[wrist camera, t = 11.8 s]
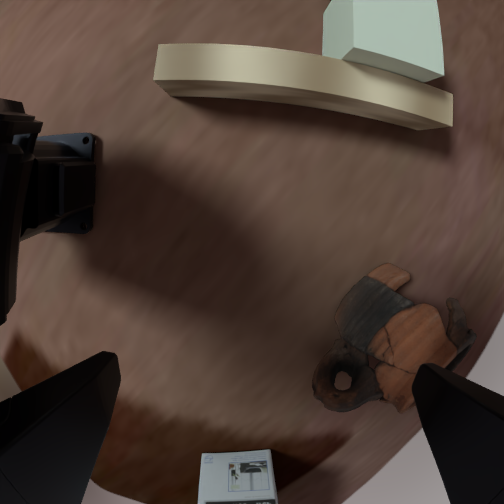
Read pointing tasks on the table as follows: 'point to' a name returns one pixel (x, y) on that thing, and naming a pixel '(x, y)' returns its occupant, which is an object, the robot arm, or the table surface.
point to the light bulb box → (237, 478)
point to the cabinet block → (386, 36)
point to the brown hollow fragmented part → (387, 343)
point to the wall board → (300, 82)
